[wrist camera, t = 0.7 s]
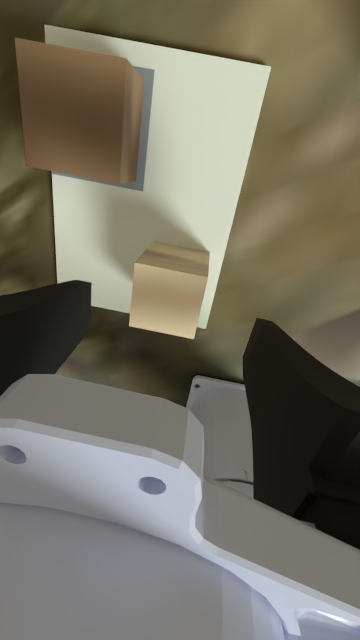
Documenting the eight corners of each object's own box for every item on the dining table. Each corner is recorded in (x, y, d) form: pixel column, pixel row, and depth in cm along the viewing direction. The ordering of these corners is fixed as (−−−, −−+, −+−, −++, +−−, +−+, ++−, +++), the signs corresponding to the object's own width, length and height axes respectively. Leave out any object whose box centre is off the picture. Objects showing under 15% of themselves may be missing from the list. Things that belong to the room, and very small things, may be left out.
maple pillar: (198, 304, 21) (193, 339, 17) (146, 293, 21) (129, 326, 17) (209, 252, 19) (208, 277, 15) (152, 241, 19) (134, 262, 15)
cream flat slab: (206, 325, 23) (205, 329, 22) (61, 295, 23) (57, 299, 22) (269, 70, 15) (271, 66, 14) (50, 29, 15) (43, 23, 15)
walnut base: (135, 181, 18) (119, 184, 15) (58, 166, 18) (26, 166, 15) (144, 80, 15) (126, 58, 12) (54, 63, 15) (14, 37, 12)
